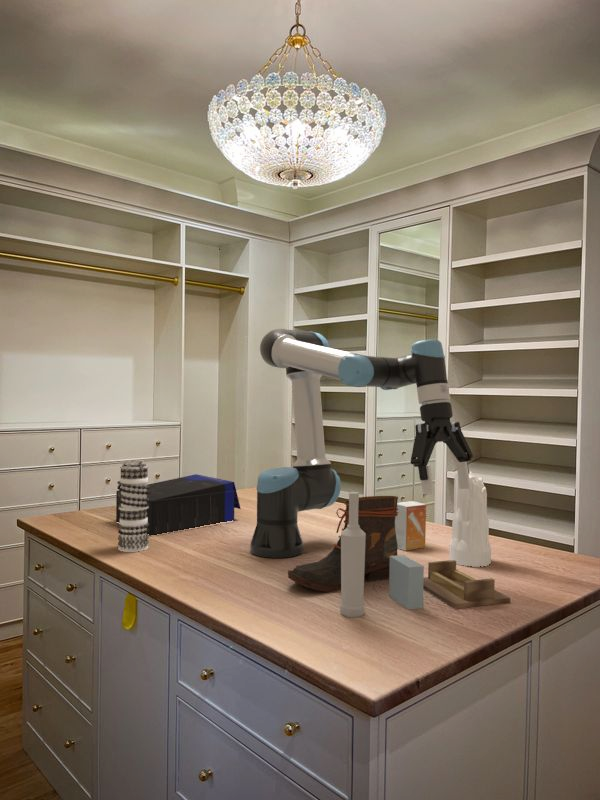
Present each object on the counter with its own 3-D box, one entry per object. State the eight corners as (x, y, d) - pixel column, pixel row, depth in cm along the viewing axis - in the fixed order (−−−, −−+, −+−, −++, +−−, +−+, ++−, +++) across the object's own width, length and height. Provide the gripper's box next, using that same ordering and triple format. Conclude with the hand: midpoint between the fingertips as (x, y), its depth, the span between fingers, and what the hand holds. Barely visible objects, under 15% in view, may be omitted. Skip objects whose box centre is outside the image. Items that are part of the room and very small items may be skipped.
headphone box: (241, 521, 210) (241, 481, 209) (151, 537, 186) (152, 491, 186) (202, 510, 228) (202, 473, 227) (115, 523, 204) (116, 481, 204)
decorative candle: (110, 548, 171) (111, 461, 171) (138, 542, 178) (139, 459, 177) (127, 554, 165) (128, 464, 164) (156, 548, 172) (156, 461, 171)
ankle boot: (276, 583, 142) (277, 500, 142) (379, 566, 157) (380, 490, 157) (300, 598, 132) (301, 508, 132) (408, 578, 147) (409, 497, 147)
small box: (405, 551, 172) (406, 506, 172) (391, 546, 177) (391, 502, 177) (426, 547, 176) (426, 503, 176) (410, 543, 182) (411, 500, 181)
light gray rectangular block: (408, 609, 126) (409, 567, 126) (389, 595, 134) (389, 556, 134) (423, 608, 127) (423, 566, 127) (402, 594, 135) (403, 554, 135)
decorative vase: (491, 558, 166) (492, 468, 165) (490, 569, 156) (491, 473, 155) (451, 554, 169) (452, 466, 169) (447, 564, 159) (449, 471, 159)
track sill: (455, 608, 126) (455, 585, 126) (413, 582, 143) (413, 562, 143) (510, 602, 131) (510, 579, 131) (463, 577, 148) (463, 557, 148)
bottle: (338, 608, 126) (339, 490, 125) (362, 608, 126) (363, 490, 126) (341, 617, 121) (343, 494, 120) (366, 617, 121) (368, 494, 121)
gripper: (411, 401, 134) (424, 496, 131) (479, 400, 149) (492, 485, 146) (387, 406, 139) (399, 497, 137) (455, 405, 155) (467, 487, 152)
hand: (447, 491), depth 141 cm, fingers open, 13 cm apart
